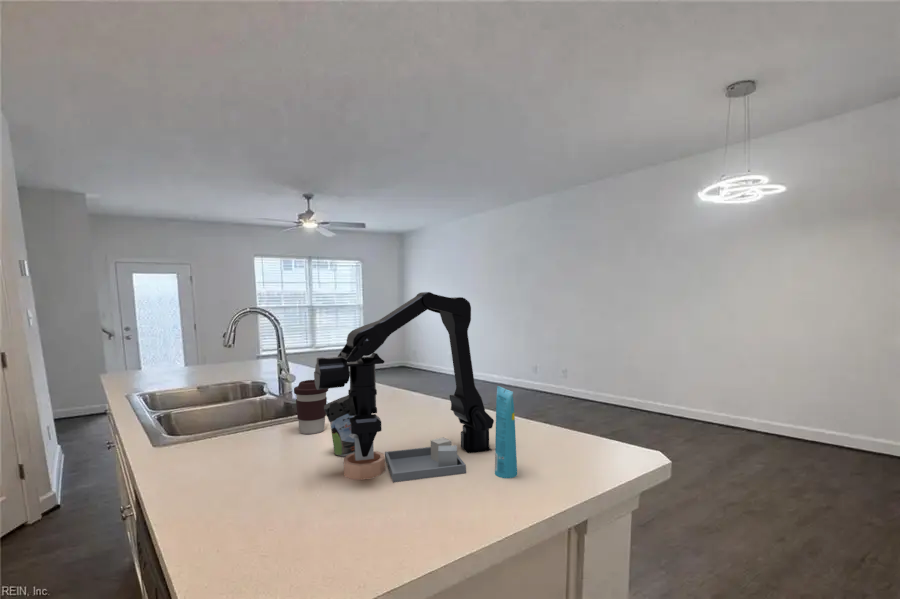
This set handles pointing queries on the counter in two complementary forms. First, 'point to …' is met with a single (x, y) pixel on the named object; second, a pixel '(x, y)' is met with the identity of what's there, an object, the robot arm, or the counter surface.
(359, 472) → the bowl
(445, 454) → the stone
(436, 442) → the stone
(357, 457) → the stone
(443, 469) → the tray
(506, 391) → the tube
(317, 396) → the coffee cup
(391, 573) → the counter surface
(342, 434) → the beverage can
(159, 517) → the counter surface
